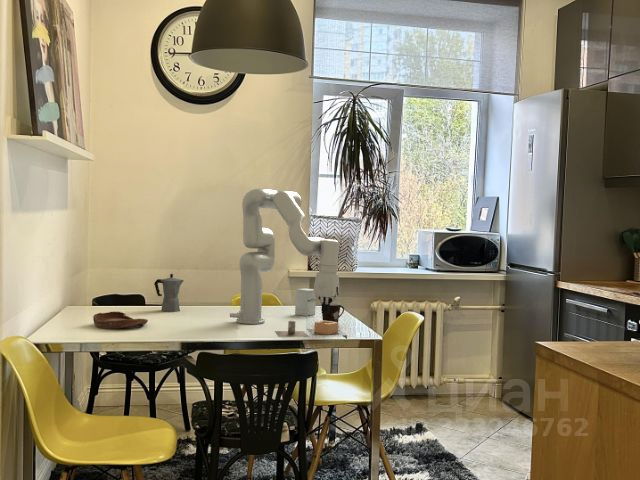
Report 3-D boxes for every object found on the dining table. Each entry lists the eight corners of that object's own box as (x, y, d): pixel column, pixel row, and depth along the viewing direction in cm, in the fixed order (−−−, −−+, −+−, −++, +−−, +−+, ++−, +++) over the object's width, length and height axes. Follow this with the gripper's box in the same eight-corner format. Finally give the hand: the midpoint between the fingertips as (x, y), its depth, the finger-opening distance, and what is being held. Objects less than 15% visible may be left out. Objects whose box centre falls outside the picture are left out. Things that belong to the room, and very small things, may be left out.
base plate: (312, 338, 265) (312, 326, 264) (306, 332, 278) (306, 320, 278) (346, 338, 267) (347, 326, 267) (339, 332, 281) (339, 320, 281)
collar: (328, 334, 268) (329, 324, 268) (314, 332, 272) (314, 322, 272) (338, 332, 274) (338, 322, 274) (323, 329, 278) (324, 320, 277)
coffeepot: (178, 308, 334) (179, 272, 333) (187, 311, 326) (188, 274, 326) (149, 310, 324) (150, 273, 323) (158, 313, 317) (159, 275, 316)
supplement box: (306, 316, 324) (307, 290, 323) (294, 314, 328) (295, 288, 328) (315, 314, 330) (316, 289, 329) (303, 313, 334) (304, 287, 334)
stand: (278, 340, 259) (278, 323, 259) (274, 334, 271) (275, 318, 270) (308, 340, 261) (309, 323, 261) (303, 334, 273) (304, 319, 273)
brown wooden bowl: (157, 325, 283) (157, 314, 283) (128, 333, 264) (129, 320, 264) (113, 321, 291) (113, 310, 291) (82, 328, 272) (82, 315, 272)
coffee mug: (323, 328, 291) (324, 305, 291) (318, 324, 299) (319, 302, 299) (348, 327, 294) (349, 305, 294) (342, 324, 303) (343, 302, 302)
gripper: (308, 267, 277) (305, 311, 278) (338, 271, 269) (335, 317, 270) (318, 266, 283) (315, 309, 284) (348, 271, 275) (345, 315, 276)
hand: (325, 313), depth 277 cm, fingers closed
